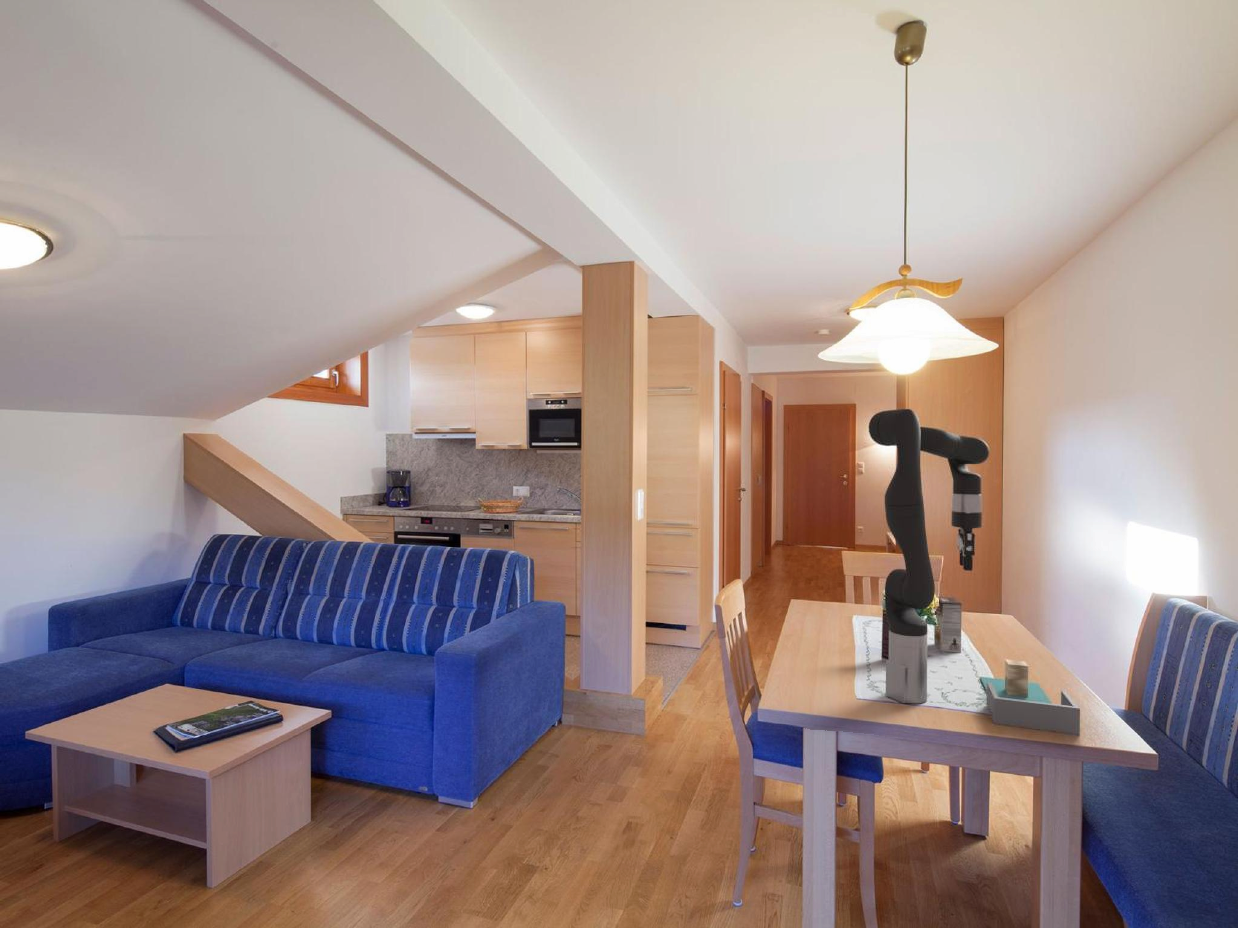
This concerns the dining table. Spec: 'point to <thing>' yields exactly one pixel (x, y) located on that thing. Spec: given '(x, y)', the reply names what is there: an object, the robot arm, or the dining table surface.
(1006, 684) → the maple block
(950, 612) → the coffee box
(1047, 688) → the dining table surface
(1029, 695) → the teal mat
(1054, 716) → the low gray barrier wall
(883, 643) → the supplement box
